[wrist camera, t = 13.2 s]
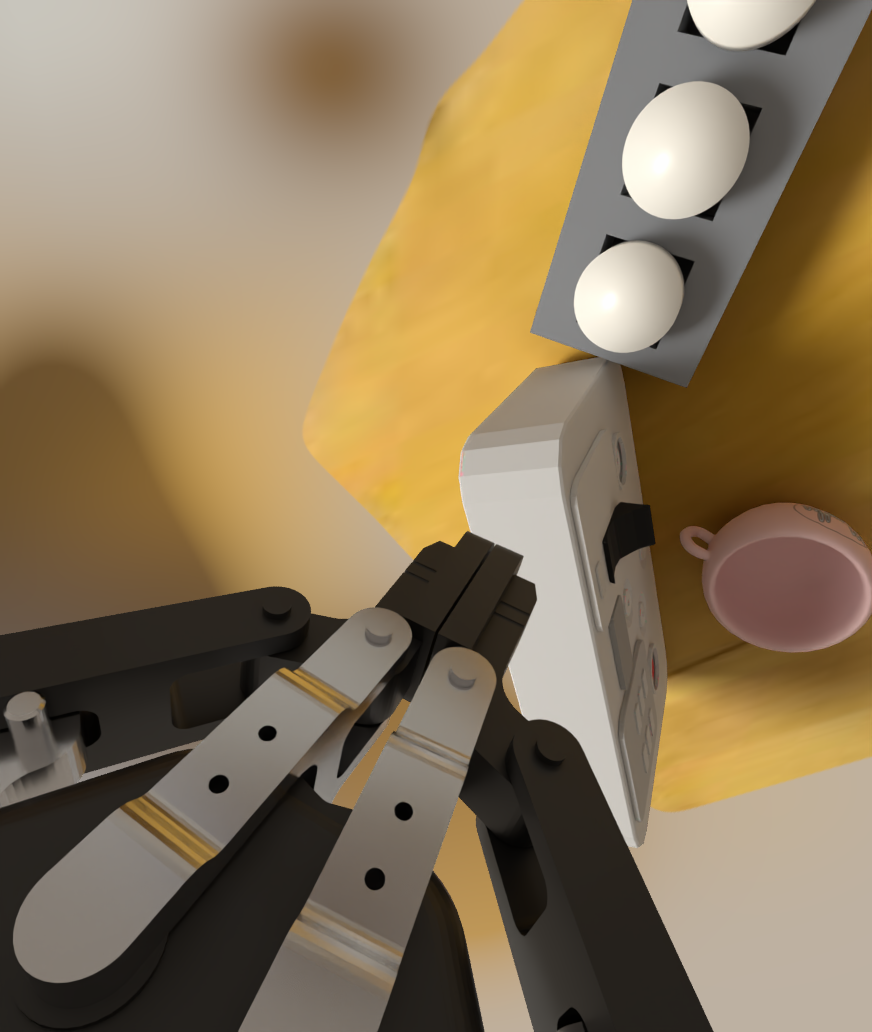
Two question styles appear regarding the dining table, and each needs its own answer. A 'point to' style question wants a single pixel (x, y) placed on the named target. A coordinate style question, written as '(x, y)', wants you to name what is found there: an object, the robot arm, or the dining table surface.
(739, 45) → the knob
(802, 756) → the dining table surface
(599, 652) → the rounded white slab
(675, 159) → the knob
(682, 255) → the mount
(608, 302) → the knob
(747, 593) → the mug
